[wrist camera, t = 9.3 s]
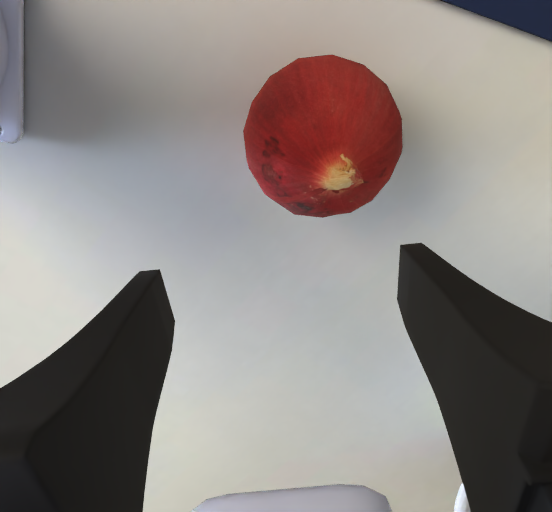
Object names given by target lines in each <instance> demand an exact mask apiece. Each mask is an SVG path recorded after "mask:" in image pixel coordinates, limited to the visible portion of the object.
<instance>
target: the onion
mask: <svg viewBox="0 0 552 512" xmlns="http://www.w3.org/2000/svg"><path fill="white" fill-rule="evenodd" d="M243 133H244V141H245V149H246V157H247V163H248V166H249V169H250V171H251V172H252V174H253V175H254V177H255V179H256V180H257V182H258V184H259V185H260V187H261V189H262V190H263V192H264V194H266V195H267V196H268V197H270V198H271V199H272V200H274V201H275V202H277V203H278V204H280V205H281V206H283V207H284V208H286V209H287V210H289V211H290V212H292V213H293V214H295V215H304V216H314V217H327V216H332V215H337V214H344V213H351V212H352V211H354V210H356V209H358V208H359V207H361V206H363V205H365V204H366V203H368V202H370V201H372V200H373V199H374V197H375V196H376V195H377V194H378V193H379V191H380V190H381V189H382V188H383V187H384V185H385V184H386V183H387V182H388V181H389V179H390V177H391V175H392V173H393V171H394V168H395V166H396V164H397V162H398V159H399V157H400V155H401V152H402V118H401V115H400V112H399V110H398V108H397V105H396V103H395V101H394V99H393V97H392V95H391V93H390V91H389V88H388V86H387V85H386V84H385V83H384V82H383V81H382V80H381V79H379V78H378V77H377V76H376V75H375V74H374V73H373V72H371V71H370V70H369V69H368V68H367V67H366V66H365V65H363V64H360V63H357V62H354V61H351V60H347V59H344V58H341V57H338V56H335V55H324V56H315V57H306V58H298V59H296V60H295V61H293V62H292V63H290V64H289V65H287V66H286V67H284V68H282V69H281V70H279V71H278V72H276V73H275V74H273V75H271V76H270V77H269V78H268V80H267V81H266V83H265V84H264V86H263V87H262V89H261V90H260V91H259V93H258V94H257V96H256V97H255V98H254V100H253V101H252V103H251V107H250V110H249V114H248V117H247V120H246V124H245V127H244V130H243Z"/></svg>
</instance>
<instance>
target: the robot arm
mask: <svg viewBox="0 0 552 512" xmlns="http://www.w3.org/2000/svg"><path fill="white" fill-rule="evenodd" d="M23 70H24V0H0V127H1V130H2V132H0V141H3V142H6V143H15V142H17V141H19V140H20V139H21V138H22V136H23ZM397 300H398V304H399V308H400V311H401V315H402V318H403V321H404V325H405V328H406V330H407V333H408V335H409V337H410V339H411V342H412V344H413V346H414V348H415V351H416V353H417V355H418V357H419V359H420V362H421V364H422V366H423V368H424V371H425V373H426V375H427V377H428V379H429V382H430V384H431V386H432V388H433V391H434V393H435V396H436V398H437V401H438V404H439V407H440V410H441V413H442V416H443V419H444V422H445V425H446V428H447V431H448V435H449V438H450V441H451V444H452V448H453V451H454V454H455V458H456V461H457V464H458V468H459V471H460V475H461V478H462V482H463V485H464V489H465V493H466V496H467V500H468V503H469V507H470V511H471V512H552V322H549V321H547V320H545V319H542V318H540V317H538V316H536V315H534V314H531V313H529V312H527V311H525V310H523V309H521V308H519V307H518V306H516V305H514V304H512V303H510V302H508V301H506V300H504V299H502V298H501V297H499V296H497V295H496V294H494V293H492V292H491V291H489V290H487V289H486V288H484V287H483V286H481V285H479V284H478V283H476V282H475V281H473V280H472V279H470V278H469V277H467V276H466V275H464V274H463V273H462V272H460V271H459V270H457V269H456V268H455V267H453V266H452V265H451V264H449V263H448V262H446V261H445V260H444V259H442V258H441V257H440V256H438V255H437V254H436V253H434V252H433V251H432V250H430V249H429V248H428V247H426V246H425V245H424V244H422V243H415V244H406V245H400V260H399V277H398V294H397ZM174 325H175V320H174V316H173V313H172V309H171V306H170V303H169V299H168V296H167V292H166V289H165V286H164V282H163V279H162V275H161V272H160V269H159V270H149V271H140V272H139V273H138V274H137V275H136V276H135V277H134V278H133V279H132V280H131V281H130V282H129V283H128V284H127V285H126V286H125V287H124V288H123V289H122V290H121V291H120V292H119V293H118V294H117V295H116V296H115V297H114V298H113V299H112V300H111V301H110V302H109V303H108V305H107V306H106V307H105V308H104V309H103V310H102V311H101V312H100V313H99V314H98V315H96V316H95V317H94V318H93V319H92V320H91V321H90V322H89V323H88V324H87V325H86V326H85V327H84V328H82V329H81V330H80V331H79V332H78V333H77V334H76V335H75V336H74V337H72V338H71V339H70V340H69V341H68V342H66V343H65V344H64V345H63V346H62V347H60V348H59V349H58V350H56V351H55V352H54V353H52V354H51V355H50V356H49V357H47V358H46V359H44V360H43V361H42V362H40V363H39V364H37V365H36V366H34V367H33V368H31V369H30V370H28V371H27V372H25V373H24V374H22V375H21V376H19V377H18V378H16V379H15V380H13V381H12V382H10V383H8V384H7V385H5V386H3V387H2V388H0V512H142V511H143V501H144V491H145V482H146V474H147V466H148V458H149V451H150V444H151V437H152V430H153V424H154V420H155V415H156V411H157V407H158V403H159V399H160V395H161V391H162V387H163V383H164V380H165V376H166V372H167V368H168V364H169V360H170V356H171V351H172V344H173V336H174ZM191 512H392V509H391V507H390V505H389V503H388V501H387V498H386V496H384V495H382V494H380V493H378V492H376V491H374V490H372V489H370V488H368V487H365V486H362V485H345V484H337V485H326V486H314V487H303V488H291V489H280V490H268V491H257V492H245V493H234V494H226V495H222V496H218V497H214V498H210V499H206V500H205V501H204V502H202V503H201V504H200V505H199V506H197V507H196V508H195V509H193V510H192V511H191Z"/></svg>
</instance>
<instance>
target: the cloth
mask: <svg viewBox="0 0 552 512" xmlns="http://www.w3.org/2000/svg"><path fill="white" fill-rule="evenodd" d="M441 1H444V2H447V3H450V4H452V5H455V6H458V7H460V8H463V9H466V10H468V11H471V12H474V13H477V14H479V15H482V16H485V17H487V18H490V19H493V20H495V21H498V22H501V23H503V24H506V25H509V26H512V27H514V28H517V29H520V30H522V31H525V32H528V33H530V34H533V35H536V36H539V37H541V38H544V39H547V40H549V41H552V0H441Z"/></svg>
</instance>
